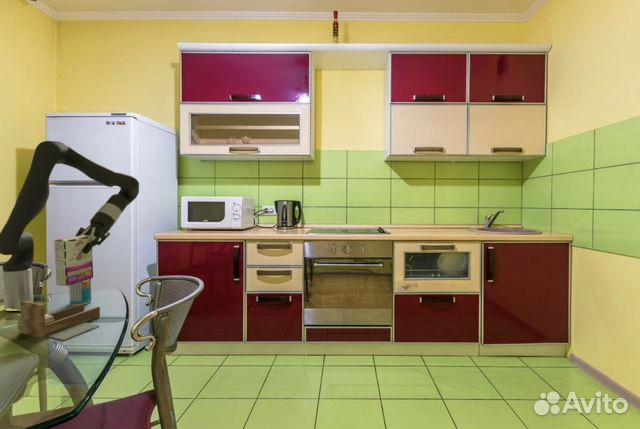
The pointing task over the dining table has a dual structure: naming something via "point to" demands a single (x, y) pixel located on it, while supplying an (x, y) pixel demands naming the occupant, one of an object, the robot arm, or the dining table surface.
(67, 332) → the slate mat
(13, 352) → the dining table surface
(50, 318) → the offcut stack
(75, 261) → the candy bar box
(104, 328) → the dining table surface
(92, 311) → the slot rack
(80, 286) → the beverage bottle
